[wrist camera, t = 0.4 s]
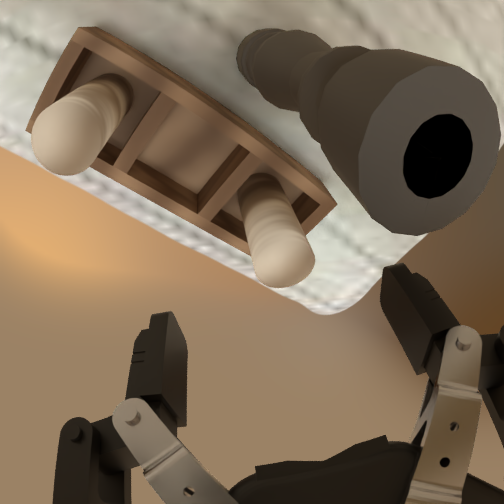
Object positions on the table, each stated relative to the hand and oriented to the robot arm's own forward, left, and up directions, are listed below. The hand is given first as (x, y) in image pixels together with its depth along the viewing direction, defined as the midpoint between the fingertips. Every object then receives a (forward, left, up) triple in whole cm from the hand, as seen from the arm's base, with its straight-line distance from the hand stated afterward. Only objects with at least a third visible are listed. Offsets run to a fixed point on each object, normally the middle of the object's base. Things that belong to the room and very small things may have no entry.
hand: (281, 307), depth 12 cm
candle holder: (-7, +3, -25) cm, 26 cm away
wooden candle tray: (+3, -4, -24) cm, 25 cm away
